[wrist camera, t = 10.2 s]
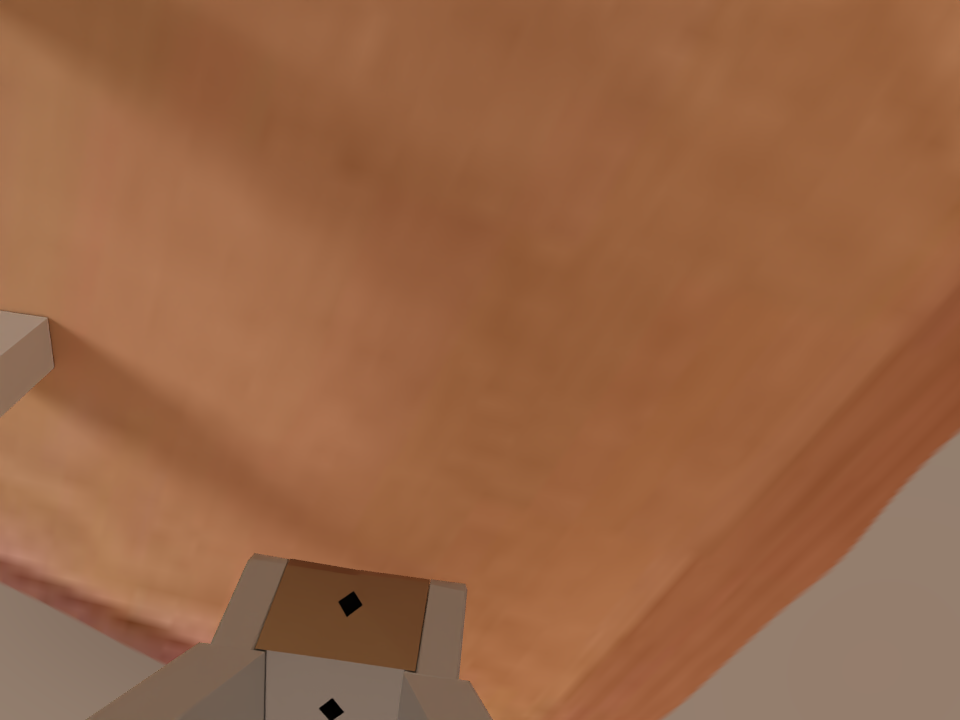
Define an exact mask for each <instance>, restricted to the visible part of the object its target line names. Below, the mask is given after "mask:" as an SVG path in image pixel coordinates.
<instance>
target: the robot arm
mask: <svg viewBox="0 0 960 720" xmlns="http://www.w3.org/2000/svg"><path fill="white" fill-rule="evenodd" d="M429 582H430V579H423V578H416V577H408V576H401V575H394V574H386V573H379V572H372V571H364V570H361V571H360V570H355V569H349V568H343V567H337V566H331V565H326V564H320V563H314V562H308V561H302V560H296V559H285V558H279V557H274V556H268V555H262V554H257V553H254V555H253V556H252V557H251V558H250V559H249V560H248V562H247V564H246V566H245V568H244V570H243V573H242V575H241V577H240V579H239V582H238V584H237V586H236V588H235V590H234V593H233V595H232V597H231V599H230V602H229V604H228V606H227V608H226V610H225V613H224V615H223V617H222V619H221V622H220V624H219V626H218V628H217V630H216V633H215V635H214V637H213V639H212V642H211V644H208V643H200V642H199V643H198V644H196V645H195V646H194V647H192V648H191V649H189V650H188V651H186V652H185V653H183V654H182V655H180V656H179V657H177V658H176V659H174V660H173V661H171V662H170V663H169V664H167V665H166V666H164V667H163V668H161V669H160V670H158V671H157V672H155V673H154V674H152V675H151V676H149V677H148V678H146V679H145V680H144V681H142V682H141V683H139V684H138V685H136V686H135V687H133V688H132V689H130V690H129V691H127V692H126V693H124V694H123V695H121V696H120V697H118V698H117V699H116V700H114V701H113V702H111V703H110V704H108V705H107V706H105V707H104V708H103V709H101V710H100V711H98V712H96V713H95V714H93V715H92V716H91V717H89V718H88V719H86V720H493V719H492V718H491V716H490V714H489V713H488V711H487V709H486V708H485V706H484V704H483V703H482V701H481V699H480V698H479V696H478V695H477V693H476V691H475V690H474V688H473V686H472V685H471V683H470V681H465V680H460V679H459V671H460V660H461V650H462V639H463V629H464V618H465V608H466V597H467V587H466V584H462V583H455V582H447V581H440V580H432V579H431V582H430V585H429ZM428 590H429V592H428ZM427 597H428V598H427ZM426 604H427V605H426ZM425 611H426V612H425ZM423 624H424V625H423ZM422 631H423V632H422Z"/></svg>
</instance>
